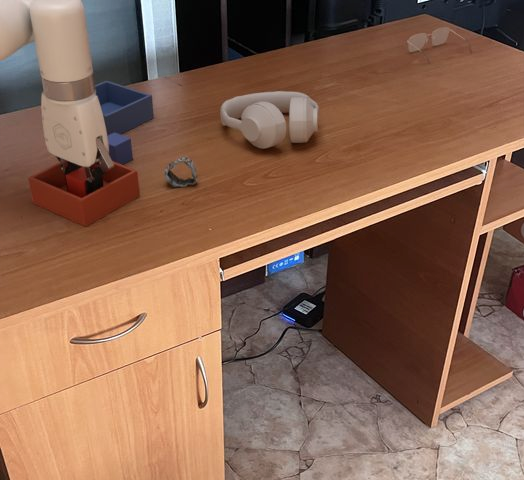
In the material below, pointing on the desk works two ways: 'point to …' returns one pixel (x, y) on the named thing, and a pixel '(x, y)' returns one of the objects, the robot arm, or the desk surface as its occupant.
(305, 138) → the headphones
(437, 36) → the eyeglasses
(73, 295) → the desk surface
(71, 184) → the red block
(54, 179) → the red bin
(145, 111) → the blue bin
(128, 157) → the blue block
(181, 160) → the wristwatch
